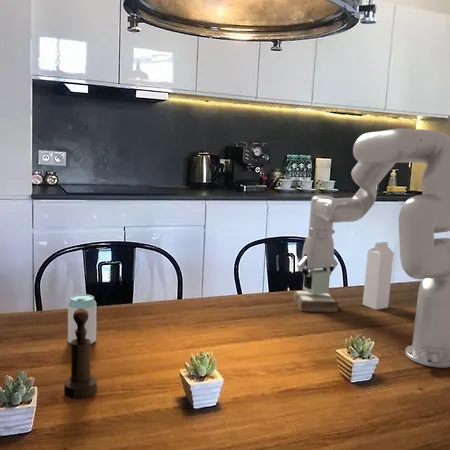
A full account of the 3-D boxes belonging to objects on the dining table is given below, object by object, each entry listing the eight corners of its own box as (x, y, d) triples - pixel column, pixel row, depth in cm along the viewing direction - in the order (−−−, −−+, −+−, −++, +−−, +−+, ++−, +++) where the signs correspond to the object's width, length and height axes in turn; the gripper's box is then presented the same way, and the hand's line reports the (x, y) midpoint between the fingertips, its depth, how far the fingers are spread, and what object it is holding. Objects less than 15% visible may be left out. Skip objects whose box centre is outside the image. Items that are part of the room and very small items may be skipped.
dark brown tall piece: (84, 381, 116) (85, 302, 113) (103, 391, 112) (104, 309, 109) (58, 391, 111) (57, 309, 108) (76, 402, 107) (76, 317, 104)
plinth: (337, 311, 172) (338, 302, 171) (301, 311, 170) (301, 301, 170) (327, 300, 183) (327, 291, 183) (292, 299, 182) (293, 290, 182)
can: (99, 344, 136) (100, 299, 134) (72, 349, 133) (72, 303, 130) (91, 335, 142) (91, 292, 140) (64, 339, 138) (64, 295, 136)
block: (328, 293, 175) (330, 272, 174) (313, 294, 172) (314, 273, 171) (317, 288, 180) (319, 268, 179) (302, 289, 178) (304, 269, 176)
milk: (362, 304, 181) (367, 241, 177) (374, 302, 184) (380, 239, 180) (376, 310, 175) (382, 244, 172) (388, 307, 179) (394, 243, 175)
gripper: (334, 230, 180) (330, 282, 183) (291, 232, 173) (287, 285, 176) (349, 234, 173) (344, 288, 176) (304, 236, 166) (300, 292, 169)
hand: (316, 286), depth 176 cm, fingers closed on block, 6 cm apart
